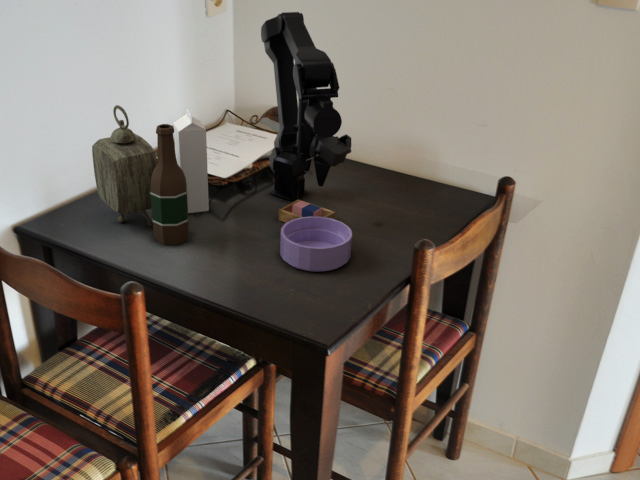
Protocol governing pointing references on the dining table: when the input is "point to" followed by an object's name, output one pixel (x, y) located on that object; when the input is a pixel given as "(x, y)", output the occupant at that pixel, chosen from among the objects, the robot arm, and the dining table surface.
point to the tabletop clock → (124, 170)
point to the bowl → (315, 243)
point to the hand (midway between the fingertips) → (308, 192)
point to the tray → (287, 215)
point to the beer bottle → (168, 192)
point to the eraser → (306, 209)
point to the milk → (193, 160)
